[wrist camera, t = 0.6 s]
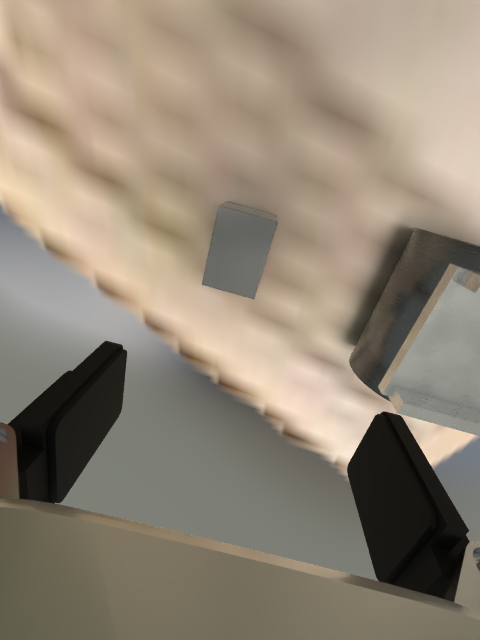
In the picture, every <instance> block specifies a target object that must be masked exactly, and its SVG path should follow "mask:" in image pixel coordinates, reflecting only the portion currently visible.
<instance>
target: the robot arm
mask: <svg viewBox="0 0 480 640" xmlns="http://www.w3.org/2000/svg"><path fill="white" fill-rule="evenodd" d="M126 358H127V351H126V350H124V349H123V346H122V345H121V344H116V343H112V342H109V341H105V342H104V343H102V344H101V345H100V346H99V347H98V348H97V349H96V350H95V351H94V352H93V353H92V354H90V356H88V357H87V358H86V359H85V360H84V361H83V362H82V363H81V364H80V365H78V366H77V367H76V368H75V369H74V370H73V371H67V372H66V373H65V374H63V375H62V376H61V377H60V378H59V379H58V380H57V381H56V382H54V383H53V384H52V385H51V386H50V387H49V388H48V389H47V390H46V391H44V392H43V393H42V394H41V395H40V396H39V397H38V398H37V399H35V400H34V401H33V402H32V403H31V404H30V405H29V406H28V407H26V408H25V409H24V410H23V411H22V412H21V413H20V414H19V415H18V416H16V417H15V418H14V419H13V420H12V421H11V422H10V423H9V424H4V423H0V640H480V542H478V541H473V542H469V540H468V538H467V536H466V534H467V532H468V531H469V530H468V528H467V527H466V525H465V523H464V521H463V520H462V518H461V516H460V515H459V513H458V511H457V510H456V508H455V506H454V505H453V503H452V501H451V500H450V498H449V496H448V494H447V493H446V491H445V489H444V487H443V486H442V484H441V483H440V481H439V479H438V477H437V476H436V474H435V472H434V470H433V469H432V467H431V465H430V464H429V462H428V460H427V459H426V457H425V455H424V454H423V452H422V450H421V448H420V447H419V445H418V443H417V442H416V440H415V438H414V437H413V435H412V433H411V431H410V430H409V428H408V426H407V425H406V423H405V421H404V420H403V418H402V417H401V416H400V415H397V414H393V413H389V412H382V413H381V414H377V415H376V416H375V417H374V419H373V421H372V423H371V424H370V426H369V428H368V430H367V432H366V433H365V435H364V437H363V439H362V440H361V442H360V444H359V446H358V448H357V449H356V451H355V453H354V455H353V457H352V458H351V460H350V462H349V464H348V468H347V473H348V477H349V481H350V485H351V488H352V492H353V495H354V499H355V502H356V506H357V509H358V513H359V517H360V520H361V524H362V528H363V531H364V535H365V539H366V542H367V546H368V549H369V553H370V557H371V560H372V564H373V567H374V571H375V574H376V577H377V579H378V581H375V580H371V579H367V578H363V577H360V576H355V575H352V574H348V573H343V572H340V571H336V570H332V569H328V568H324V567H320V566H316V565H312V564H308V563H304V562H300V561H295V560H291V559H288V558H284V557H280V556H276V555H271V554H267V553H263V552H259V551H255V550H251V549H247V548H243V547H239V546H234V545H230V544H227V543H222V542H218V541H214V540H210V539H206V538H202V537H198V536H193V535H190V534H185V533H181V532H177V531H172V530H169V529H164V528H160V527H156V526H152V525H148V524H144V523H139V522H135V521H131V520H127V519H123V518H118V517H114V516H109V515H105V514H100V513H95V512H91V511H87V510H82V509H78V508H73V507H68V506H64V505H59V504H55V503H60V502H62V501H63V499H64V498H65V497H66V495H67V493H68V492H69V490H70V489H71V488H72V486H73V484H74V483H75V482H76V480H77V478H78V477H79V475H80V474H81V472H82V471H83V469H84V468H85V466H86V465H87V463H88V462H89V460H90V459H91V457H92V456H93V454H94V453H95V451H96V450H97V448H98V447H99V445H100V444H101V442H102V441H103V439H104V438H105V436H106V435H107V433H108V432H109V430H110V429H111V427H112V426H113V424H114V423H115V421H116V420H117V418H118V417H119V415H120V413H121V409H122V403H123V392H124V381H125V369H126Z"/></svg>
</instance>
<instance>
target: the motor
mask: <svg viewBox="0 0 480 640" xmlns="http://www.w3.org/2000/svg"><path fill="white" fill-rule="evenodd" d="M349 362H350V366H351V368H352V370H353V371H354V373H355V374H356V375H357V376H358V378H359V379H360V380H361V381H362V382H363V383H364V384H366V385H367V386H368V387H369V388H370V389H372V390H373V391H374V392H376V393H377V394H379V395H380V396H382V397H383V398H385V399H387V400H388V401H390V402H391V403H392V405H393V406H394V408H395V410H396V412H397V413H399V414H402V415H406V416H409V417H413V418H417V419H420V420H424V421H428V422H431V423H435V424H438V425H442V426H446V427H449V428H453V429H456V430H460V431H464V432H467V433H471V434H474V435H478V436H480V246H477V245H473V244H470V243H466V242H463V241H460V240H456V239H453V238H449V237H446V236H442V235H439V234H436V233H432V232H429V231H425V230H422V229H418V228H415V229H414V231H413V233H412V235H411V237H410V239H409V241H408V243H407V245H406V247H405V249H404V251H403V253H402V255H401V257H400V259H399V261H398V263H397V265H396V267H395V269H394V271H393V273H392V275H391V277H390V279H389V281H388V283H387V285H386V287H385V289H384V291H383V293H382V295H381V297H380V299H379V301H378V303H377V305H376V307H375V309H374V311H373V313H372V315H371V317H370V319H369V321H368V323H367V325H366V326H365V328H364V330H363V332H362V334H361V336H360V338H359V340H358V342H357V344H356V346H355V348H354V350H353V352H352V354H351V356H350V359H349Z"/></svg>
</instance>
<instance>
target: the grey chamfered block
mask: <svg viewBox="0 0 480 640" xmlns="http://www.w3.org/2000/svg"><path fill="white" fill-rule="evenodd" d="M276 226H277V216H275V215H272V214H269V213H265V212H262V211H258V210H255V209H251V208H248V207H244V206H241V205H237V204H234V203H231V202H227V203H224V204H222V205H220V206H219V207H218V212H217V216H216V221H215V226H214V230H213V235H212V239H211V244H210V249H209V253H208V258H207V263H206V267H205V272H204V277H203V281H202V285H205V286H209V287H212V288H216V289H219V290H223V291H226V292H230V293H234V294H237V295H241V296H244V297H248V298H251V299H254V298H255V295H256V291H257V288H258V285H259V282H260V278H261V275H262V272H263V268H264V265H265V262H266V259H267V255H268V252H269V249H270V245H271V242H272V239H273V236H274V232H275V229H276Z"/></svg>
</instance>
